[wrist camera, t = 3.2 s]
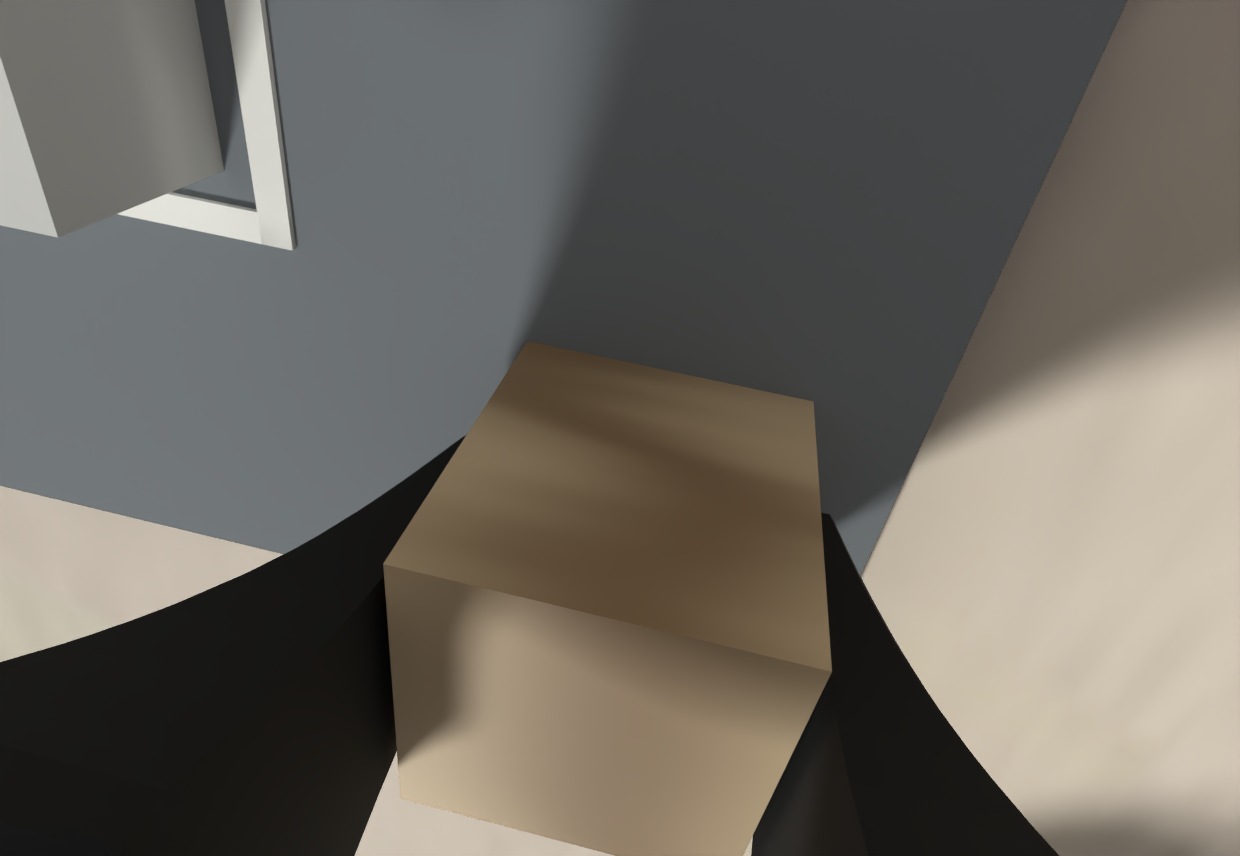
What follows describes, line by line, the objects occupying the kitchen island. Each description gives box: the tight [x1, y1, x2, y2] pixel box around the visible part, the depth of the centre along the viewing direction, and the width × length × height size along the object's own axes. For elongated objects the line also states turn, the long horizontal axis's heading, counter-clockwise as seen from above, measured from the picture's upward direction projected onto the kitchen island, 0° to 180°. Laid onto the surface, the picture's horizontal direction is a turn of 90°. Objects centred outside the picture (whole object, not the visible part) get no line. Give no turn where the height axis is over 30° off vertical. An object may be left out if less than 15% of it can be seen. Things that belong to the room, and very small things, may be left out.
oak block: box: [383, 341, 832, 856], centre depth 10 cm, size 4×4×5 cm
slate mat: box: [0, 0, 1127, 576], centre depth 11 cm, size 20×16×1 cm
